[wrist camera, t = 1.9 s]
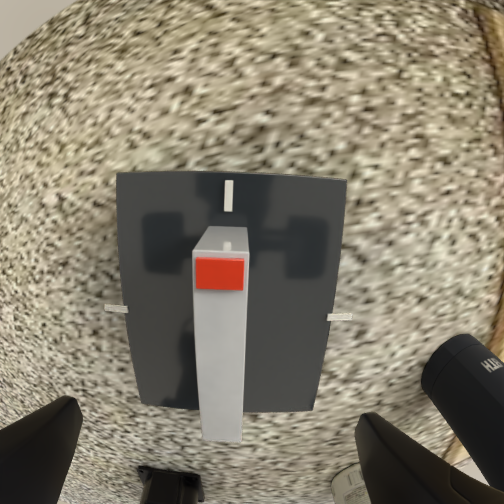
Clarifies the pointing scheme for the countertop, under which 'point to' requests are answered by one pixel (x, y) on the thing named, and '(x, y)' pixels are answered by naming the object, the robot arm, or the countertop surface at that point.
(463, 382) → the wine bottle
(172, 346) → the block
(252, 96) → the countertop surface
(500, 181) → the countertop surface
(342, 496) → the spray can
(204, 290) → the knob
